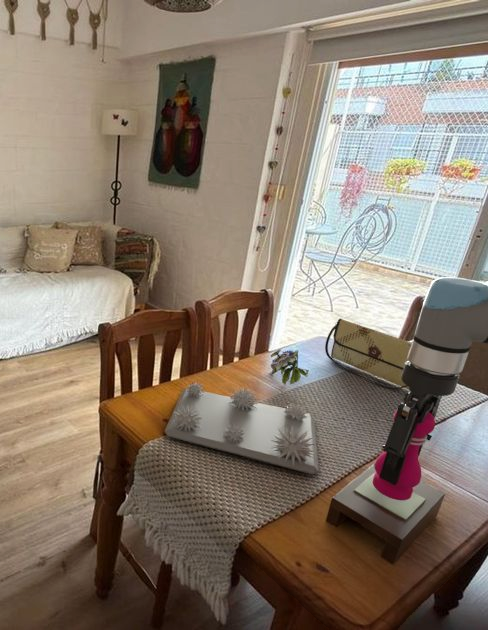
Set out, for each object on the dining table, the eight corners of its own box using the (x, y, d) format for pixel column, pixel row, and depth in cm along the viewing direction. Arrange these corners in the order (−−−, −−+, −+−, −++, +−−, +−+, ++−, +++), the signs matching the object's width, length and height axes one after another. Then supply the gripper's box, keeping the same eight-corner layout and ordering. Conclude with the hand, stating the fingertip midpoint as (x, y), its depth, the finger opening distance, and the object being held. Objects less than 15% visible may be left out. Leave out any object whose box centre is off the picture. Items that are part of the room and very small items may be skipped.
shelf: (436, 516, 89) (446, 492, 87) (393, 564, 79) (402, 539, 76) (372, 481, 98) (379, 458, 96) (325, 520, 88) (332, 496, 86)
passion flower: (270, 388, 147) (268, 352, 150) (307, 388, 143) (304, 352, 146) (271, 383, 137) (269, 346, 140) (311, 384, 133) (307, 345, 136)
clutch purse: (317, 359, 155) (326, 319, 150) (329, 355, 158) (339, 316, 153) (409, 399, 130) (424, 353, 125) (422, 393, 133) (437, 349, 128)
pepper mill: (365, 489, 86) (392, 401, 79) (373, 471, 91) (399, 386, 83) (411, 509, 81) (444, 417, 74) (416, 488, 86) (447, 400, 79)
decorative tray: (312, 422, 119) (320, 390, 116) (317, 484, 97) (326, 447, 94) (183, 393, 133) (186, 364, 130) (162, 441, 112) (165, 408, 108)
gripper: (429, 345, 84) (397, 443, 92) (382, 373, 74) (350, 481, 82) (480, 359, 78) (441, 463, 87) (435, 392, 68) (396, 507, 76)
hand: (397, 472), depth 84 cm, fingers closed on pepper mill, 7 cm apart
